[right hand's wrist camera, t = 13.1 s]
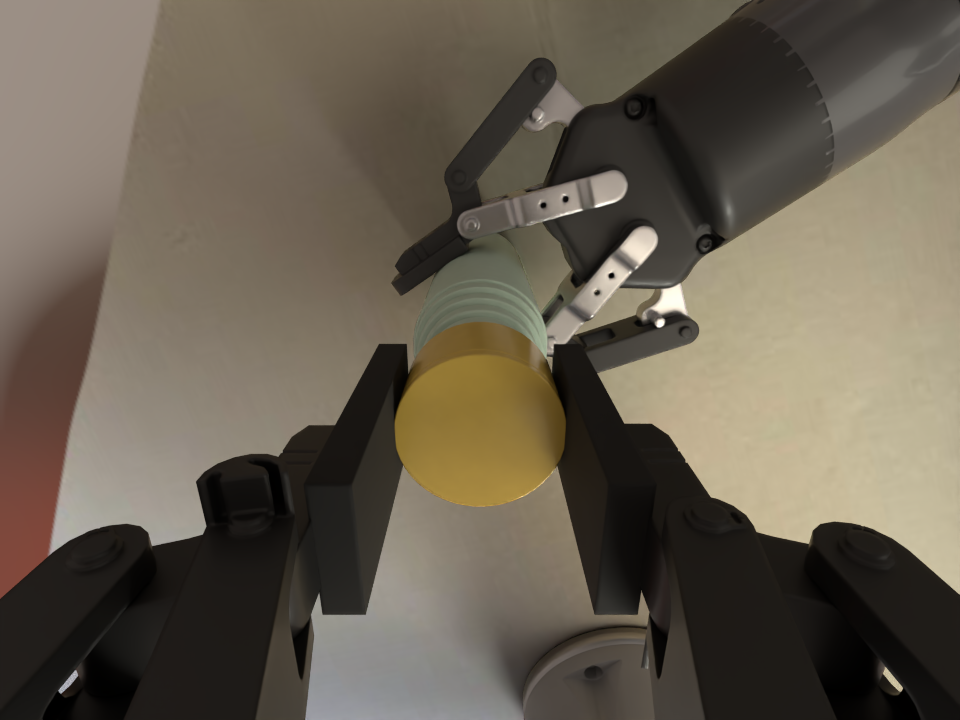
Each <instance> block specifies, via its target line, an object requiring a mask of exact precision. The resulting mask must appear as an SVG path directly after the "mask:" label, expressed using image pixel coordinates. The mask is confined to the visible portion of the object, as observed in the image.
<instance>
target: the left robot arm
mask: <svg viewBox="0 0 960 720" xmlns="http://www.w3.org/2000/svg"><path fill="white" fill-rule="evenodd" d="M959 91H960V0H752V1H750V2H747V3H746V4H744V5H743V6H741V7H740V8H739V9H738V10H736V11H735V12H734V13H733V14H732V15H731V16H730V18H729V19H728V20H726V21H725V22H724V23H722V24H721V25H719V26H718V27H717V28H715V29H714V30H712V31H711V32H710V33H708V34H707V35H705V36H704V37H703V38H701V39H700V40H698V41H697V42H696V43H694V44H693V45H692V46H690V47H689V48H687V49H686V50H685V51H683V52H682V53H680V54H679V55H678V56H676V57H675V58H673V59H672V60H671V61H669V62H668V63H666V64H665V65H664V66H662V67H661V68H659V69H658V70H657V71H655V72H654V73H652V74H651V75H650V76H648V77H647V78H645V79H644V80H643V81H641V82H640V83H638V84H637V85H636V86H634V87H633V88H632V89H630V90H629V91H627V92H626V93H625V94H623V95H622V96H620V97H619V98H617V99H616V100H614V101H612V102H609V103H605V104H595V105H590V106H587V107H585V108H584V107H583V106H582V105H581V104H580V103H579V102H578V101H577V100H576V99H575V97H574V96H573V95H572V94H571V93H570V92H569V91H568V90H567V89H566V88H565V87H564V86H563V85H562V84H561V83H560V82H559V81H558V80H557V79H556V69H555V67H554V65H553V63H552V62H551V61H550V60H548V59H546V58H536V59H534V60H533V61H531V62H530V63H529V64H528V66H527V67H526V68H525V69H524V71H523V72H522V73H521V75H520V76H519V77H518V78H517V80H516V81H515V82H514V83H513V85H512V86H511V87H510V89H509V90H508V91H507V92H506V94H505V95H504V96H503V97H502V99H501V100H500V101H499V103H498V104H497V105H496V106H495V108H494V109H493V110H492V112H491V113H490V114H489V115H488V117H487V118H486V119H485V120H484V122H483V123H482V124H481V126H480V127H479V128H478V129H477V131H476V132H475V133H474V134H473V136H472V137H471V138H470V140H469V141H468V142H467V143H466V145H465V146H464V147H463V148H462V150H461V151H460V152H459V154H458V155H457V156H456V157H455V159H454V160H453V161H452V163H451V164H450V165H449V166H448V168H447V169H446V171H445V176H444V178H445V183H446V185H447V187H448V191H449V195H450V199H451V203H452V215H451V217H450V218H449V219H448V220H447V221H446V222H444V223H443V224H442V225H440V226H439V227H437V228H436V229H435V230H433V231H432V232H431V233H429V234H428V235H426V236H425V237H424V238H422V239H421V240H419V241H418V242H417V243H415V244H414V245H412V246H411V247H410V248H408V249H407V250H405V252H404V253H403V254H402V255H401V257H400V258H399V260H398V262H397V263H396V265H395V267H396V268H397V270H398V271H399V272H400V273H399V274H398V275H397V276H396V277H395V278H394V280H393V281H392V282H391V283H392V285H393V286H394V287H395V289H396V290H397V291H398V293H399V294H400V295H404V294H405V293H407V292H408V291H410V290H411V289H413V288H414V287H415V286H417V285H418V284H420V283H421V282H423V281H424V280H426V279H427V278H428V277H430V276H431V275H433V274H434V273H436V272H437V271H438V270H440V269H441V268H443V267H444V266H445V265H447V264H448V263H449V262H451V261H452V260H454V259H456V258H457V257H459V256H460V255H462V254H463V253H464V252H466V251H467V250H468V249H469V242H471V241H472V240H474V239H477V238H481V237H484V236H488V235H491V234H495V233H498V232H502V231H505V230H509V229H513V228H521V227H526V226H529V225H533V224H536V223H540V222H543V224H544V225H545V227H546V229H547V230H548V231H549V232H550V233H551V234H552V236H554V237H555V238H556V239H557V240H558V241H559V242H560V243H561V246H562V250H563V253H564V256H565V259H566V261H567V262H568V264H569V266H570V267H571V269H572V270H571V271H570V273H569V274H568V275H567V276H566V278H565V279H564V280H563V281H562V283H561V284H560V286H559V288H558V290H557V292H556V294H555V295H554V297H553V298H552V299H551V300H550V301H549V303H548V304H547V305H546V306H545V308H544V309H543V310H542V311H541V316H542V318H543V321H544V324H545V327H546V332H547V356H548V357H553V346H554V344H581V345H582V347H583V348H584V350H585V352H586V354H587V356H588V358H589V359H590V361H591V363H592V365H593V367H594V369H595V371H596V372H597V373H599V372H602V371H605V370H608V369H612V368H615V367H618V366H621V365H624V364H627V363H630V362H633V361H637V360H640V359H643V358H646V357H649V356H652V355H655V354H659V353H662V352H665V351H668V350H671V349H674V348H677V347H680V346H684V345H687V344H689V343H691V342H693V341H694V340H695V339H696V338H697V336H698V334H699V327H698V325H697V323H696V322H695V321H693V320H692V319H691V318H690V317H689V316H688V313H687V308H686V304H685V299H684V295H683V290H682V286H681V282H683V281H684V280H685V279H686V278H687V276H688V275H689V273H690V272H691V270H692V268H693V267H694V266H695V264H696V263H697V262H698V261H699V260H700V259H701V258H702V257H703V256H705V255H706V254H708V253H710V252H712V251H713V250H715V249H717V248H719V247H721V246H723V245H725V244H727V243H728V242H730V241H731V240H733V239H735V238H736V237H738V236H739V235H741V234H743V233H744V232H746V231H748V230H749V229H751V228H752V227H754V226H756V225H757V224H759V223H760V222H762V221H764V220H765V219H767V218H768V217H770V216H772V215H773V214H775V213H776V212H778V211H780V210H781V209H783V208H785V207H786V206H788V205H789V204H791V203H793V202H794V201H796V200H797V199H799V198H801V197H802V196H804V195H805V194H807V193H809V192H810V191H812V190H813V189H815V188H817V187H818V186H820V185H821V184H823V183H825V182H826V181H828V180H830V179H831V178H833V177H834V176H836V175H838V174H839V173H841V172H842V171H844V170H846V169H847V168H849V167H850V166H852V165H854V164H855V163H857V162H858V161H860V160H862V159H863V158H865V157H866V156H868V155H870V154H871V153H873V152H874V151H876V150H877V149H879V148H880V147H882V146H883V145H885V144H886V143H887V142H889V141H890V140H892V139H893V138H894V137H895V136H897V135H898V134H899V133H901V132H902V131H903V130H904V129H906V128H907V127H908V126H909V125H910V124H912V123H913V122H914V121H915V120H917V119H918V118H919V117H921V116H922V115H923V114H924V113H926V112H927V111H929V110H930V109H931V108H933V107H934V106H936V105H937V104H939V103H941V102H943V101H944V100H946V99H947V98H949V97H951V96H952V95H954V94H955V93H957V92H959ZM551 123H558V124H561V125H563V126H564V127H565V128H564V131H563V133H562V136H561V139H560V141H559V144H558V147H557V149H556V152H555V155H554V157H553V160H552V162H551V165H550V168H549V170H548V173H547V176H546V178H545V181H544V183H541V184H537V185H534V186H530V187H527V188H524V189H520V190H517V191H513V192H510V193H508V194H505V195H502V196H499V197H496V198H492V199H489V200H485V201H481V197H480V193H479V189H478V185H477V180H478V178H479V177H480V176H481V175H482V173H483V172H484V171H485V170H486V169H487V167H488V166H489V165H490V164H491V162H492V161H493V160H494V159H495V157H496V156H497V155H498V154H499V152H500V151H501V150H502V149H503V148H504V146H505V145H506V144H507V143H508V141H509V140H510V139H511V138H512V136H513V135H514V134H515V133H516V131H517V130H518V129H519V128H520V127H521V126H522V127H523V128H524V129H525V130H526V131H528V132H532V133H534V132H538V131H541V130H543V129H544V128H545V127H546V126H547V125H549V124H551ZM618 288H641V289H655V291H654V294H653V295H652V297H651V298H650V299H648V300H647V301H645V302H643V303H641V304H640V305H639V307H638V308H637V311H636V315H635V316H632V317H629V318H626V319H623V320H620V321H617V322H613V323H610V324H607V325H604V326H601V327H598V328H595V329H592V330H589V331H586V332H583V333H580V334H577V335H575V333H576V332H577V330H578V329H579V328H580V327H581V326H582V325H583V323H585V322H586V321H589V320H591V319H592V318H593V317H594V316H595V315H596V314H597V313H598V312H599V311H600V309H601V308H602V307H603V306H604V305H605V304H606V302H607V301H608V300H609V299H610V298H611V297H612V295H613V294H614V293H615V292H616V291H617V290H618ZM595 290H598V291H597V292H595ZM594 292H595V293H594Z"/></svg>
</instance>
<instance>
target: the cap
mask: <svg viewBox="0 0 960 720" xmlns="http://www.w3.org/2000/svg"><path fill="white" fill-rule="evenodd" d="M394 425H395V440H396V449H397V452H398V455H399V457H400V460H401V461H402V463H403V465H404V467H405V469H406V470H407V471H408V473H409V474H410V475H411V476H412V478H413V479H414V480H415V481H416V482H417V483H418V484H420V485H421V486H422V487H423V488H425V489H426V490H427V491H429V492H431V493H432V494H434V495H435V496H438V497H440V498H442V499H444V500H447V501H450V502H453V503H456V504H461V505H466V506H494V505H500V504H504V503H508V502H511V501H514V500H517V499H519V498H521V497H523V496H525V495H527V494H529V493H530V492H532V491H533V490H535V489H536V488H537V487H539V486H540V485H541V484H542V483H543V482H544V481H545V480H546V479H547V478H548V477H549V476H550V475H551V473H552V472H553V471H554V469H555V468H556V466H557V465H558V463H559V461H560V459H561V457H562V454H563V451H564V444H565V430H566V416H565V412H564V408H563V405H562V402H561V399H560V396H559V393H558V390H557V387H556V384H555V381H554V378H553V375H552V372H551V369H550V367H549V364H548V362H547V360H546V358H545V356H544V355H543V353H542V352H541V351H540V349H539V348H538V347H537V346H536V345H535V344H534V343H533V342H532V341H531V340H530V339H529V338H527V337H526V336H525V335H523V334H522V333H520V332H518V331H516V330H515V329H512V328H510V327H507V326H505V325H501V324H497V323H491V322H470V323H464V324H460V325H456V326H453V327H451V328H448V329H446V330H444V331H442V332H441V333H439V334H437V335H436V336H434V337H433V338H432V339H431V340H429V341H428V342H427V343H426V344H425V345H424V346H423V347H422V349H421V350H420V351H419V353H418V354H417V356H416V358H415V359H414V361H413V363H412V366H411V368H410V371H409V374H408V377H407V380H406V383H405V386H404V389H403V392H402V395H401V398H400V401H399V405H398V407H397V410H396V415H395V419H394Z"/></svg>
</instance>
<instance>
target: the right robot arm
mask: <svg viewBox="0 0 960 720" xmlns="http://www.w3.org/2000/svg"><path fill="white" fill-rule="evenodd" d="M552 375H553V378H554V381H555V384H556V387H557V390H558V393H559V396H560V399H561V402H562V405H563V408H564V412H565V416H566V430H565V444H564V451H563V454H562V457H561V459H560V461H559V463H558V465H557V466H558V470H559V474H560V478H561V482H562V486H563V490H564V494H565V498H566V502H567V506H568V510H569V514H570V518H571V522H572V526H573V530H574V534H575V538H576V542H577V546H578V550H579V554H580V558H581V562H582V566H583V570H584V574H585V578H586V582H587V586H588V590H589V594H590V598H591V602H592V606H593V610H594V614H595V615H638V609H639V602H640V595H641V590H642V593H643V596H644V598H645V601H646V604H647V606H648V609H649V612H650V613H649V619H648V625H647V629H642V628H630V627H620V628H608V629H601V630H597V631H592V632H589V633H585V634H582V635H579V636H577V637H574V638H572V639H570V640H567V641H565V642H563V643H562V644H560V645H558V646H557V647H555V648H554V649H552V650H551V651H549V652H548V653H547V654H546V655H545V656H543V657H542V658H541V659H540V660H539V662H538V663H537V664H536V665H535V666H534V668H533V669H532V671H531V672H530V674H529V676H528V678H527V680H526V683H525V686H524V690H523V710H524V720H960V595H959V594H958V593H957V592H956V591H955V590H953V589H952V588H951V587H950V586H949V585H948V584H947V583H945V582H944V581H943V580H942V579H941V578H940V577H939V576H937V575H936V574H935V573H934V572H933V571H932V570H931V569H929V568H928V567H927V566H926V565H925V564H924V563H923V562H921V561H920V560H919V559H918V558H917V557H916V556H915V555H913V554H912V553H911V552H910V551H909V550H908V549H906V548H905V547H903V546H902V545H900V544H899V543H898V542H896V541H895V540H893V539H892V538H890V537H888V536H886V535H883V534H881V533H879V532H877V531H875V530H873V529H871V528H868V527H865V526H864V527H863V526H861V525H857V524H852V523H843V522H829V523H824V524H820V525H819V526H818V527H817V528H815V529H814V530H813V532H812V536H811V539H810V543H809V544H806V543H801V542H796V541H791V540H787V539H782V538H777V537H772V536H768V535H765V534H761V533H758V532H756V530H755V528H754V526H753V524H752V523H751V522H750V520H749V519H748V517H747V516H746V515H745V514H744V513H742V512H741V511H739V510H738V509H737V508H735V507H734V506H732V505H730V504H728V503H725V502H723V501H721V500H719V499H715V498H711V497H710V496H709V494H708V493H707V491H706V490H705V488H704V487H703V485H702V484H701V482H700V481H699V479H698V478H697V476H696V475H695V473H694V472H693V470H692V469H691V468H690V466H689V465H688V463H686V462H685V459H684V457H683V456H682V454H681V453H680V451H678V448H677V447H676V445H675V444H674V442H673V441H672V439H671V438H670V437H669V435H667V434H666V433H664V432H663V431H662V430H660V429H659V428H657V427H656V426H654V425H653V424H624V422H623V420H622V419H621V417H620V415H619V413H618V411H617V409H616V408H615V406H614V404H613V402H612V400H611V398H610V396H609V395H608V393H607V391H606V389H605V387H604V385H603V383H602V382H601V380H600V378H599V376H598V374H597V372H596V371H595V369H594V367H593V365H592V363H591V361H590V359H589V358H588V356H587V354H586V352H585V350H584V348H583V347H582V345H581V344H554V346H553V364H552ZM407 377H408V359H407V344H379V345H378V347H377V349H376V351H375V353H374V354H373V356H372V358H371V360H370V362H369V364H368V366H367V367H366V369H365V371H364V373H363V375H362V377H361V379H360V380H359V382H358V384H357V386H356V388H355V390H354V391H353V393H352V395H351V397H350V399H349V401H348V403H347V404H346V406H345V408H344V410H343V412H342V414H341V416H340V417H339V419H338V421H337V423H336V425H309V426H307V427H306V428H304V429H303V430H301V431H300V432H299V433H297V434H296V435H294V436H293V437H292V438H291V439H290V441H289V442H288V444H287V445H286V447H285V448H284V449H283V453H281V454H280V455H279V457H277V456H273V455H269V454H249V455H244V456H239V457H234V458H231V459H229V460H226V461H223V462H221V463H218V464H216V465H215V466H213V467H212V468H210V469H208V470H207V471H205V472H204V473H203V474H202V475H201V477H200V478H199V479H198V480H197V481H196V484H197V488H198V492H199V496H200V501H201V505H202V509H203V513H204V517H205V522H206V529H205V531H204V533H203V535H200V536H196V537H193V538H189V539H184V540H180V541H175V542H170V543H165V544H161V545H156V546H152V545H151V541H150V538H149V534H148V532H147V531H145V530H144V529H143V528H142V527H141V526H136V525H130V524H121V525H110V526H106V527H101V528H99V529H98V528H97V529H94V530H91V531H88V532H86V533H85V534H83V535H80V536H78V537H76V538H74V539H72V540H70V541H68V542H67V543H66V544H64V545H63V546H61V547H60V548H58V549H57V550H56V551H54V552H53V553H52V554H51V555H49V556H48V557H47V558H46V559H45V560H44V561H43V562H42V563H40V564H39V565H38V566H37V567H36V568H35V569H34V570H32V571H31V572H30V573H29V574H28V575H27V576H26V577H25V578H23V579H22V580H21V581H20V582H19V583H18V584H17V585H15V586H14V587H13V588H12V589H11V590H10V591H9V592H8V593H6V594H5V595H4V596H3V597H2V598H1V599H0V720H305V716H306V706H307V697H308V688H309V678H310V669H311V659H312V650H313V640H314V632H313V626H312V619H311V613H312V610H313V607H314V605H315V602H316V599H317V597H318V594H319V593H320V600H321V607H322V614H323V615H366V611H367V607H368V603H369V599H370V595H371V591H372V587H373V583H374V579H375V575H376V571H377V567H378V563H379V559H380V555H381V551H382V547H383V543H384V539H385V535H386V531H387V527H388V523H389V519H390V515H391V511H392V507H393V503H394V499H395V495H396V491H397V487H398V483H399V479H400V475H401V471H402V467H403V463H402V461H401V460H400V457H399V455H398V452H397V449H396V440H395V425H394V419H395V415H396V410H397V407H398V405H399V401H400V398H401V395H402V392H403V389H404V386H405V383H406V380H407ZM885 667H886V668H887V669H888V670H889V671H890V673H891V674H892V675H893V676H894V677H895V679H896V680H897V681H898V682H899V683H900V684H901V686H902V687H903V690H902V691H901V692H899V691H898V690H897V689H896V688H895V687H894V686H893V685H892V684H891V683H890V682H889V681H888V679H887V678H886V677H885V676H884V675H883V672H884V669H885ZM75 670H76V671H77V673H78V677H77V678H76V679H75V680H74V682H73V683H72V684H71V685H70V686H69V687H68V688H67V689H66V690H65V691H64V692H63V693H62V694H60V693H59V691H58V690H59V689H60V688H61V686H62V685H63V684H64V683H65V682H66V680H67V679H68V678H69V677H70V676H71V674H72V673H73V672H74V671H75Z"/></svg>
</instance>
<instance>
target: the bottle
mask: <svg viewBox="0 0 960 720" xmlns="http://www.w3.org/2000/svg"><path fill="white" fill-rule="evenodd" d="M470 322H491V323H497V324H501V325H505V326H507V327H510V328H512V329H515V330H516V331H518V332H520V333H522V334H523V335H525V336H526V337H527V338H529V339H530V340H531V341H532V342H533V343H534V344H535V345H536V346H537V347H538V348H539V349H540V351H541V352H542V353H543V355H544V356H545V358H546V357H547V332H546V327H545V324H544V321H543V318H542V316H541V313H540V310H539V308H538V305H537V303H536V300H535V298H534V295H533V292H532V290H531V287H530V285H529V282H528V279H527V277H526V274H525V272H524V269H523V267H522V264H521V261H520V259H519V256H518V254H517V252H516V250H515V248H514V247H513V245H512V244H511V243H510V242H509V241H508V240H507V239H506V238H504V237H503V236H501V235H500V234H497V233H495V234H491V235H488V236H484V237H481V238H477V239H474V240H472V241H471V242H469V249H468V250H467V251H466V252H464V253H463V254H462V255H460V256H459V257H457V258H456V259H454V260H452V261H451V262H449V263H448V264H447V265H445V266H444V267H443V268H441V269H440V270H438V271H437V272H436V273H435V276H434V279H433V281H432V284H431V286H430V289H429V292H428V294H427V297H426V299H425V302H424V304H423V307H422V310H421V312H420V315H419V317H418V320H417V323H416V326H415V330H414V338H413V345H414V359H415V358H416V356H417V354H418V353H419V351H420V350H421V349H422V347H423V346H424V345H425V344H426V343H427V342H428V341H429V340H431V339H432V338H433V337H434V336H436V335H437V334H439V333H441V332H442V331H444V330H446V329H448V328H451V327H453V326H456V325H460V324H464V323H470Z"/></svg>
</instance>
